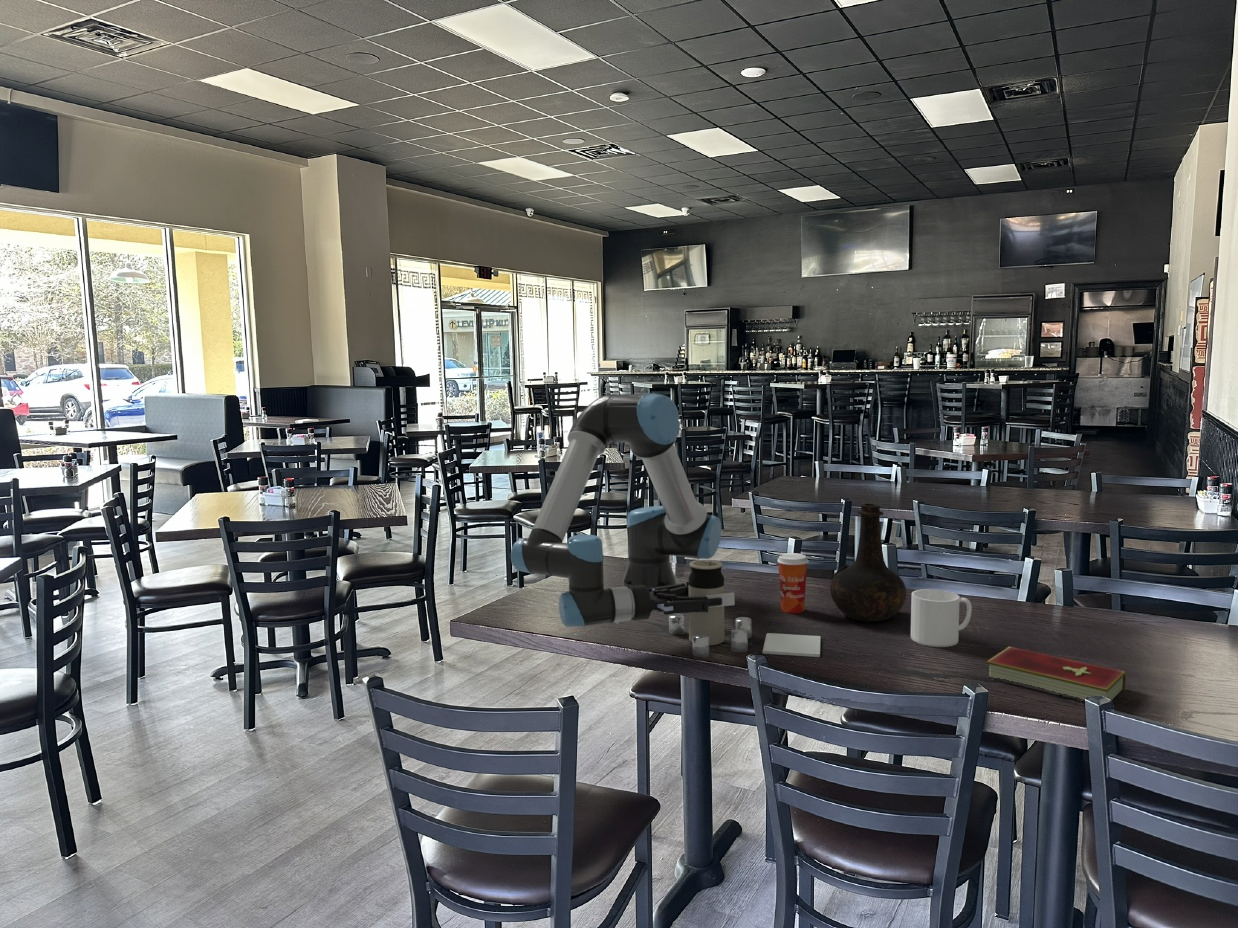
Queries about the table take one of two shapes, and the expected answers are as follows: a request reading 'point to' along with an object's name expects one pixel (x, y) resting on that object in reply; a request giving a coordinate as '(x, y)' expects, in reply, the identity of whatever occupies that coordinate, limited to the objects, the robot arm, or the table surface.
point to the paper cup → (792, 581)
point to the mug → (937, 617)
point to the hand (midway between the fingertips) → (726, 593)
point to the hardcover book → (1056, 674)
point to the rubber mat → (792, 645)
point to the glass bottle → (868, 576)
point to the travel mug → (704, 583)
